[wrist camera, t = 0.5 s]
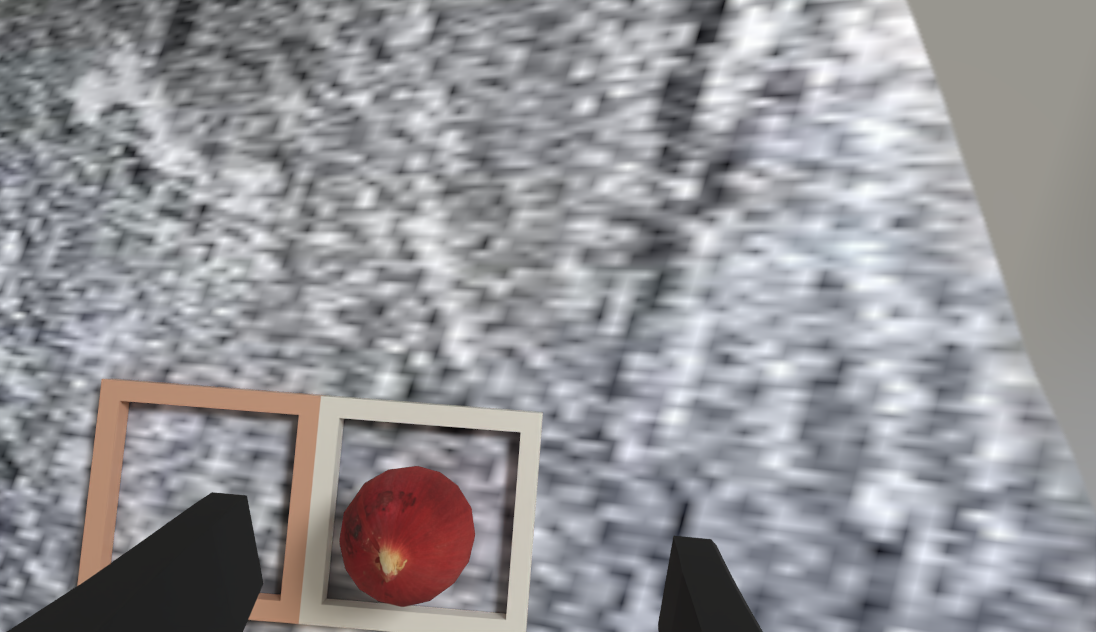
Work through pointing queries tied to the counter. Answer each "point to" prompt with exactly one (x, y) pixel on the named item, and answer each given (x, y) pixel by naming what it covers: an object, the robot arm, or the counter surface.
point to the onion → (407, 536)
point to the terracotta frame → (124, 391)
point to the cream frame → (407, 626)
